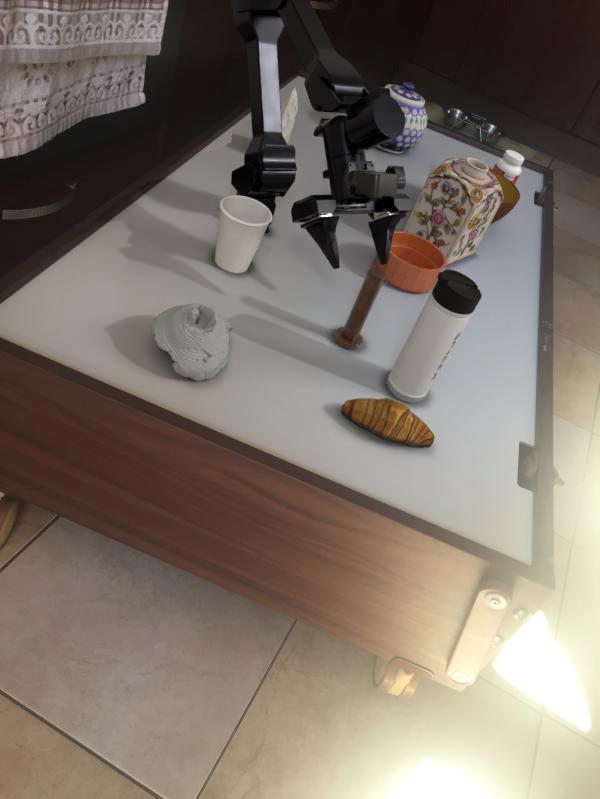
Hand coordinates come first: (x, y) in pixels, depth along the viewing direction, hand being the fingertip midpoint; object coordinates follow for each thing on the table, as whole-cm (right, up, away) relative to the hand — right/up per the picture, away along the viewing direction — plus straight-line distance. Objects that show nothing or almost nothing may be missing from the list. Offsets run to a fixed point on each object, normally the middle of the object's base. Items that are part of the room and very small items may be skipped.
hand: (361, 266), depth 108 cm
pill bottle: (+37, +28, +66) cm, 81 cm away
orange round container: (+10, +3, +26) cm, 28 cm away
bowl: (+26, +19, +50) cm, 60 cm away
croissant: (+3, -24, -7) cm, 25 cm away
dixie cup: (-20, +3, +12) cm, 24 cm away
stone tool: (-14, +31, +46) cm, 57 cm away
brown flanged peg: (-2, -11, +6) cm, 12 cm away
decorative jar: (+19, +11, +39) cm, 44 cm away
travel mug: (+7, -18, +1) cm, 19 cm away
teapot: (+12, +43, +70) cm, 83 cm away
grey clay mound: (-24, -14, -8) cm, 29 cm away
